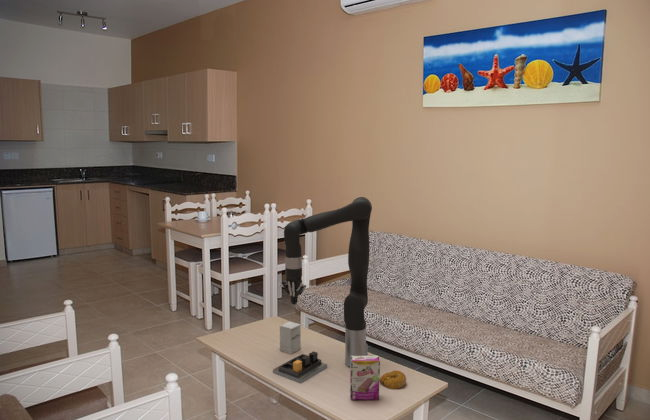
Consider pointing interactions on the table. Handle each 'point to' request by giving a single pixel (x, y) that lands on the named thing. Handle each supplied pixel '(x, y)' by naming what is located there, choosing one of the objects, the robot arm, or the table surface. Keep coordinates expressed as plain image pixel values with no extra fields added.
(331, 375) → the table surface
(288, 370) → the panel
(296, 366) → the block
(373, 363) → the candy bar box
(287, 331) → the supplement box
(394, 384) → the bagel
